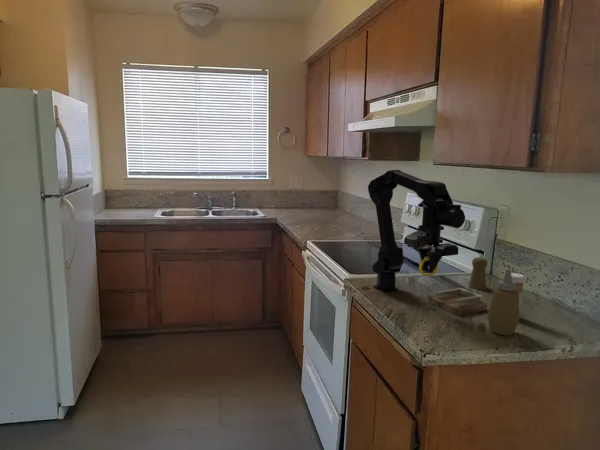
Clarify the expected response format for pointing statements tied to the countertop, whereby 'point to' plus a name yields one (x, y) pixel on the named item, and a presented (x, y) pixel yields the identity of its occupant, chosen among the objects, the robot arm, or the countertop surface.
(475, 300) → the dock
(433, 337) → the countertop surface
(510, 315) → the squeeze bottle
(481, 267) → the wooden pepper mill
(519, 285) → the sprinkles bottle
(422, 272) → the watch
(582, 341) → the countertop surface
